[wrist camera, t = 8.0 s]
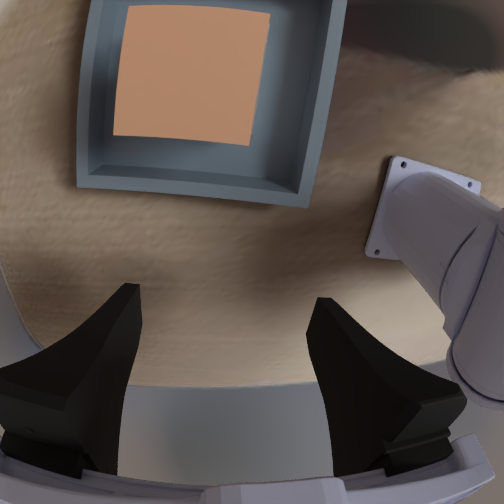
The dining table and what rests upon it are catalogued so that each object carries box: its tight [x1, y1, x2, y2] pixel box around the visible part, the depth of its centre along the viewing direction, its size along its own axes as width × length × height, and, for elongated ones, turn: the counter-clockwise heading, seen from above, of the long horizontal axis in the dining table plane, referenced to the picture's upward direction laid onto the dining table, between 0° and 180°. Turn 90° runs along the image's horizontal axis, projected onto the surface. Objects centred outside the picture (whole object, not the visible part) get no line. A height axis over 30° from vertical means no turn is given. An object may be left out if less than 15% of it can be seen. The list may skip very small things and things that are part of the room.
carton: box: [113, 5, 270, 146], centre depth 12 cm, size 5×5×5 cm
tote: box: [76, 0, 347, 209], centre depth 16 cm, size 14×14×3 cm
